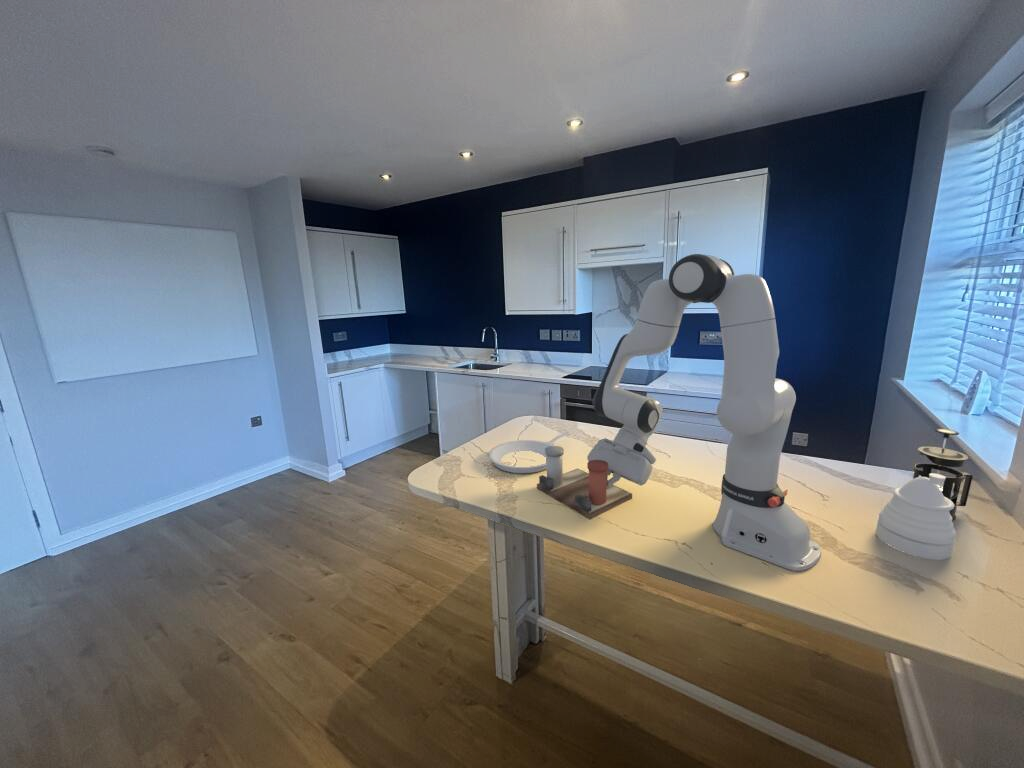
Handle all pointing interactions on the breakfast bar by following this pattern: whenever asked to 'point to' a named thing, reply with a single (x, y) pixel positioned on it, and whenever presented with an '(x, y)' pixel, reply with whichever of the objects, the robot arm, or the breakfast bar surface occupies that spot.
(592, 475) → the red plug
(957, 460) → the french press
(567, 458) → the breakfast bar surface
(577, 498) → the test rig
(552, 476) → the grey plug
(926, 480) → the honey pot
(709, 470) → the breakfast bar surface
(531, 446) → the pan
